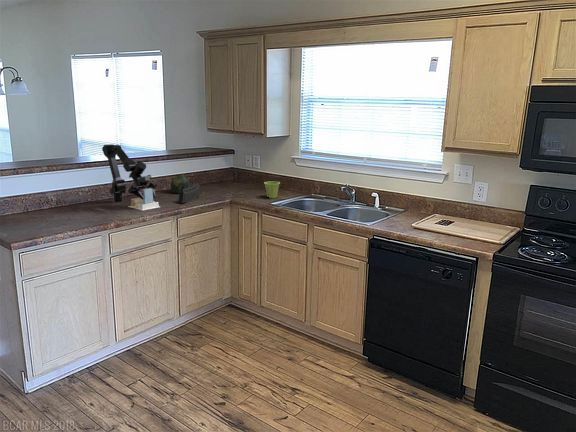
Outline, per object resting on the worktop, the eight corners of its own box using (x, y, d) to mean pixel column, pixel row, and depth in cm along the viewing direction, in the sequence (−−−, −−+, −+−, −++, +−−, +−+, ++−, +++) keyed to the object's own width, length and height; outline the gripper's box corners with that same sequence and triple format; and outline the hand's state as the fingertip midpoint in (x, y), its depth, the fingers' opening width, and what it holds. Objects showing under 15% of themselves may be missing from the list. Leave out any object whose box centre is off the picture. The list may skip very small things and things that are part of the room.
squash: (163, 185, 342) (174, 172, 336) (175, 183, 356) (186, 170, 350) (175, 199, 340) (186, 186, 334) (186, 196, 354) (197, 183, 348)
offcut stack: (131, 206, 291) (130, 199, 290) (143, 203, 299) (143, 197, 298) (137, 207, 287) (137, 200, 286) (150, 205, 295) (150, 198, 294)
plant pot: (275, 195, 345) (276, 180, 343) (282, 198, 335) (282, 183, 332) (261, 196, 340) (261, 181, 338) (267, 199, 330) (267, 184, 327)
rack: (127, 208, 291) (126, 201, 290) (145, 205, 302) (145, 198, 300) (142, 212, 281) (142, 205, 280) (161, 209, 292) (160, 202, 291)
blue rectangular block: (143, 208, 287) (142, 189, 284) (151, 206, 291) (150, 188, 289) (145, 208, 286) (144, 189, 283) (153, 207, 290) (152, 188, 287)
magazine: (180, 192, 302) (198, 173, 327) (176, 191, 303) (194, 173, 328) (184, 214, 311) (202, 194, 336) (180, 214, 311) (198, 194, 336)
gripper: (129, 172, 278) (141, 192, 274) (155, 169, 292) (166, 188, 289) (123, 183, 284) (134, 203, 281) (148, 180, 299) (159, 198, 295)
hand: (149, 198), depth 286 cm, fingers open, 8 cm apart
